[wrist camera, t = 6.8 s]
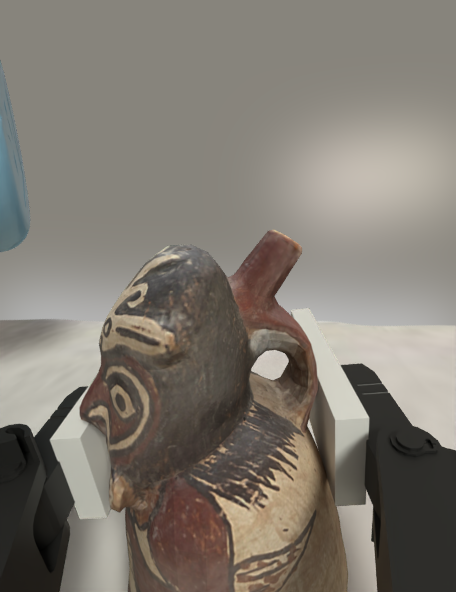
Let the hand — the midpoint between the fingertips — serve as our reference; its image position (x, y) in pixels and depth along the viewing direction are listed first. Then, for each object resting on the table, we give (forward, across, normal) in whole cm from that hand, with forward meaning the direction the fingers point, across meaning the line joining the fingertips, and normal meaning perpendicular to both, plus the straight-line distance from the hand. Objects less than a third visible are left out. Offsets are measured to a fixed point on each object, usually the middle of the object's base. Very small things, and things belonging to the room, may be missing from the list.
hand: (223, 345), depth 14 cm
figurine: (-5, 0, -7) cm, 9 cm away
